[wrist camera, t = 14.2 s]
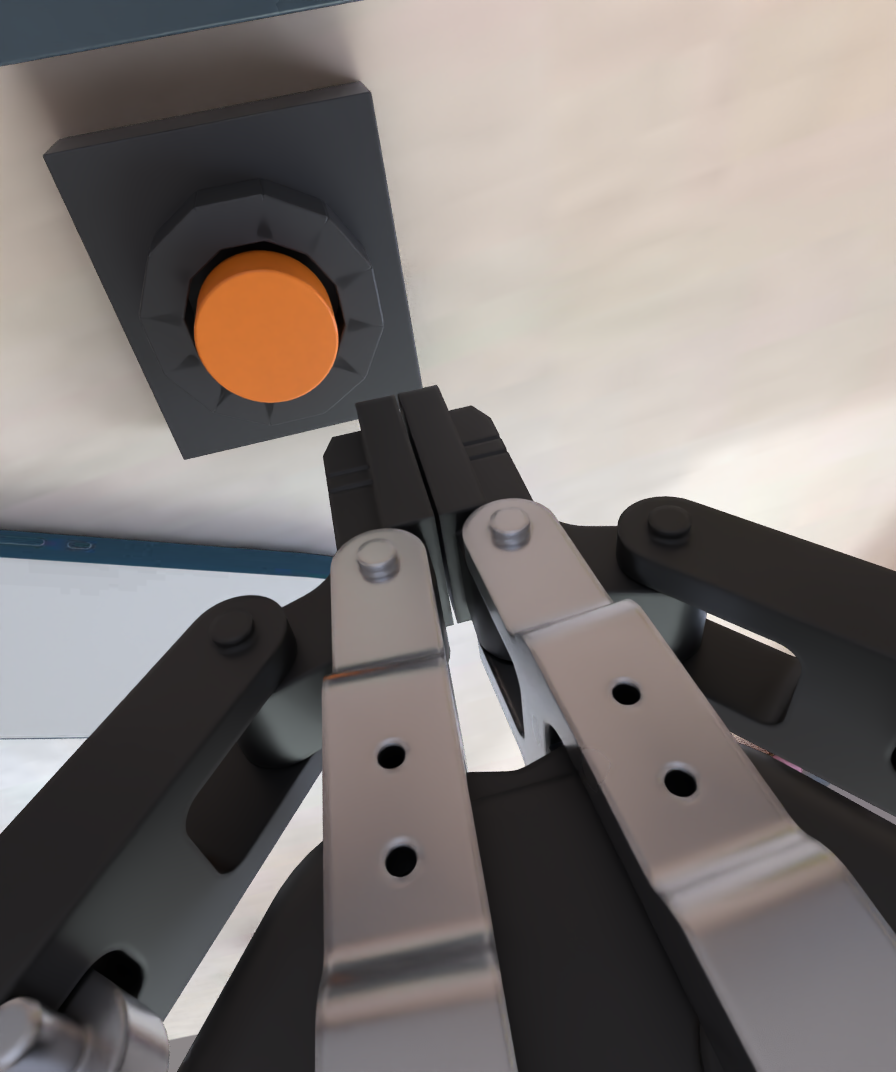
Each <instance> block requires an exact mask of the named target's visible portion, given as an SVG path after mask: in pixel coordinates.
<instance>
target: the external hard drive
mask: <svg viewBox="0 0 896 1072" xmlns="http://www.w3.org/2000/svg"><path fill="white" fill-rule="evenodd" d="M332 559H333V557H330V556H325V555H316V554H308V553H296V552H283V551H270V550H257V549H244V548H231V547H218V546H205V545H192V544H179V543H166V542H153V541H140V540H127V539H114V538H101V537H88V536H75V535H63V534H50V533H37V532H24V531H11V530H0V739H62V738H88V737H89V736H90V735H91V734H92V733H93V732H94V731H95V730H96V729H97V728H98V726H99V725H100V724H101V723H102V722H103V721H104V720H105V719H106V718H107V717H108V715H109V714H110V713H111V712H112V711H113V710H114V709H115V708H116V707H117V706H118V705H119V703H120V702H121V701H122V700H123V699H124V698H125V697H126V696H127V695H128V694H129V692H130V691H131V690H132V689H133V688H134V687H135V686H136V685H137V684H138V683H139V681H140V680H141V679H142V678H143V677H144V676H145V675H146V674H147V673H148V672H149V671H150V669H151V668H152V667H153V666H154V665H155V664H156V663H157V662H158V661H159V660H160V658H161V657H162V656H163V655H164V654H165V653H166V652H167V651H168V650H169V649H170V648H171V646H172V645H173V644H174V643H175V642H176V641H177V640H178V639H179V638H180V637H181V635H182V634H183V633H184V632H185V631H186V630H187V629H188V628H189V627H190V626H191V624H192V623H193V622H194V621H195V620H196V619H197V618H198V617H199V616H200V615H201V614H203V613H204V612H205V611H206V610H208V609H209V608H211V607H213V606H214V605H216V604H218V603H220V602H222V601H224V600H227V599H230V598H233V597H238V596H244V595H259V596H264V597H267V598H270V599H272V600H274V601H275V602H277V603H278V604H279V605H280V606H281V607H283V606H285V605H287V604H289V603H291V602H293V601H295V600H297V599H299V598H301V597H303V596H304V595H306V594H308V593H309V592H311V591H312V590H314V589H315V588H316V587H318V586H319V585H320V584H321V583H322V582H323V581H324V580H325V579H326V578H327V577H328V575H329V574H330V568H331V562H332Z"/></svg>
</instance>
